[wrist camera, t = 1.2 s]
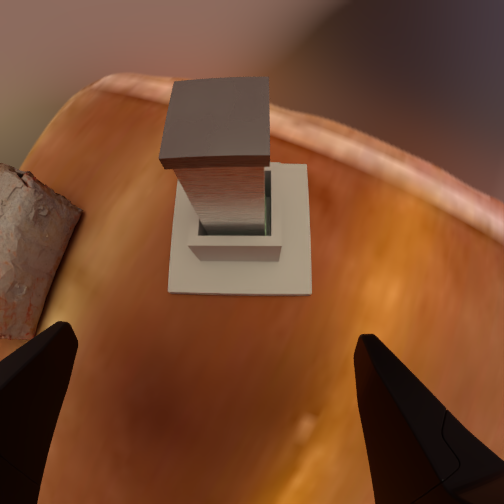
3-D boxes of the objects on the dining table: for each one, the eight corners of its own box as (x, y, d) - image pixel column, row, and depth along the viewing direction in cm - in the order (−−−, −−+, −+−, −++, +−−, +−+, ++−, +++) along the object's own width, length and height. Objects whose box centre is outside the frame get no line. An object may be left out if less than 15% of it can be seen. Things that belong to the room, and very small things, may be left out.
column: (267, 250, 23) (270, 155, 11) (211, 249, 23) (158, 158, 11) (267, 198, 24) (268, 76, 12) (214, 199, 24) (174, 81, 12)
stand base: (309, 295, 23) (324, 282, 17) (171, 293, 23) (143, 280, 17) (305, 170, 25) (314, 128, 20) (182, 171, 26) (163, 131, 20)
